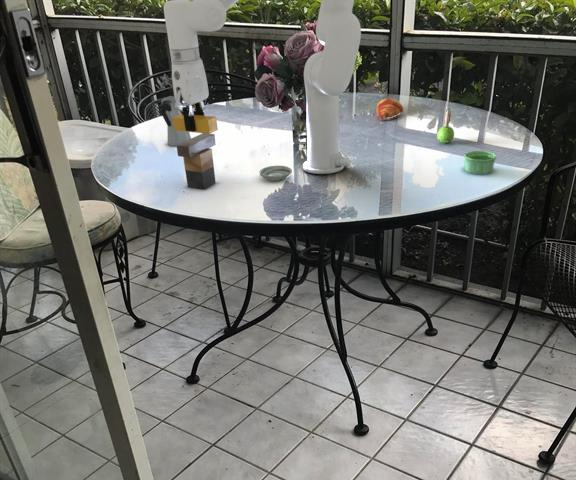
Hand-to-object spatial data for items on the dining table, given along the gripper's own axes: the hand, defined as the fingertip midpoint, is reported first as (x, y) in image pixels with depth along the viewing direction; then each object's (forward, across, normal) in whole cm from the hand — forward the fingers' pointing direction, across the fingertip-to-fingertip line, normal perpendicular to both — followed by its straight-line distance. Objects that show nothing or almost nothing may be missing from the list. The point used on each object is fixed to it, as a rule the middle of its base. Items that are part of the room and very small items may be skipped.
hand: (195, 127), depth 171 cm
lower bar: (+6, 0, 0) cm, 6 cm away
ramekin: (+18, +40, -70) cm, 83 cm away
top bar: (+1, 0, 0) cm, 1 cm away
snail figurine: (+18, +64, -54) cm, 85 cm away
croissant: (+18, +92, -24) cm, 96 cm away
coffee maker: (+16, +32, +34) cm, 49 cm away
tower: (+16, 0, 0) cm, 16 cm away
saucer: (+17, +12, -18) cm, 27 cm away
